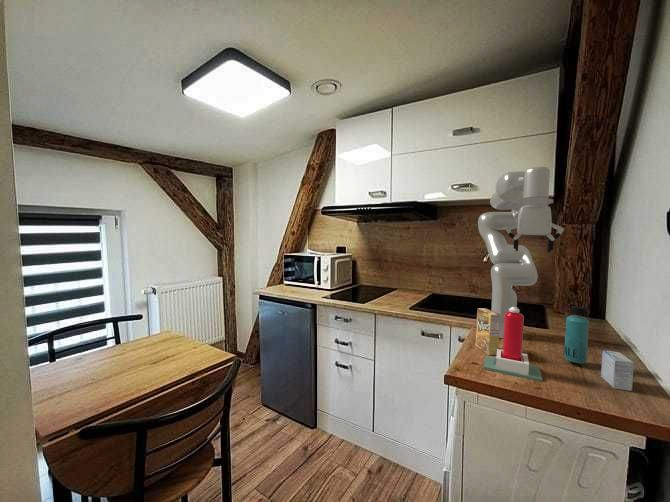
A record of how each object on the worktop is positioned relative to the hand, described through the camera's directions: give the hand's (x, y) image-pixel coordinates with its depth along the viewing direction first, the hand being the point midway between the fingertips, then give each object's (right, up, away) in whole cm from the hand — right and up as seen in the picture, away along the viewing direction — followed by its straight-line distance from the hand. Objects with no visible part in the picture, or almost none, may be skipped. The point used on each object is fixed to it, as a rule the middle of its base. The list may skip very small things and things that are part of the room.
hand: (532, 251), depth 107 cm
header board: (-12, -39, -8) cm, 41 cm away
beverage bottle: (+12, -39, -4) cm, 41 cm away
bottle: (-12, -38, -8) cm, 41 cm away
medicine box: (+14, -40, -17) cm, 45 cm away
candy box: (-13, -38, +7) cm, 41 cm away
